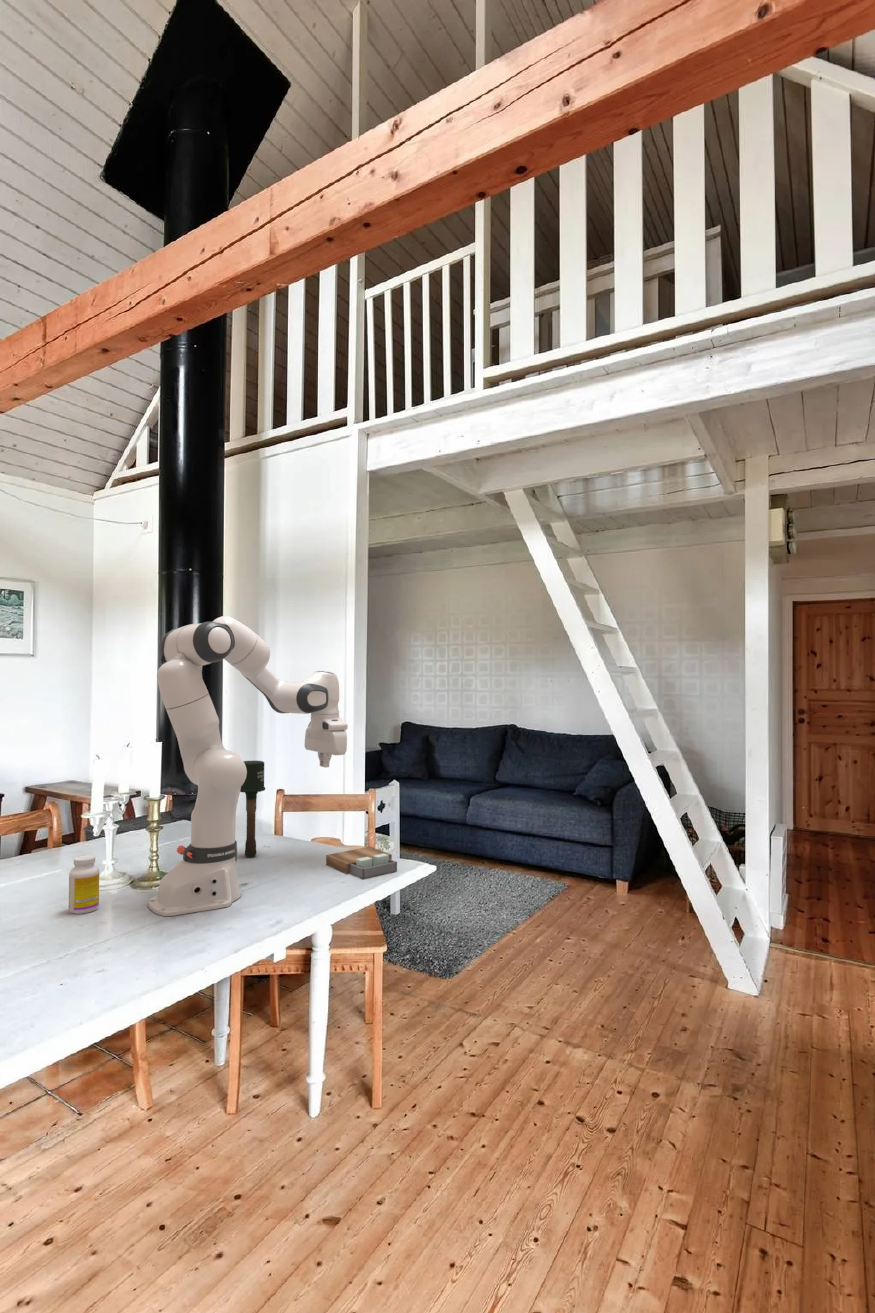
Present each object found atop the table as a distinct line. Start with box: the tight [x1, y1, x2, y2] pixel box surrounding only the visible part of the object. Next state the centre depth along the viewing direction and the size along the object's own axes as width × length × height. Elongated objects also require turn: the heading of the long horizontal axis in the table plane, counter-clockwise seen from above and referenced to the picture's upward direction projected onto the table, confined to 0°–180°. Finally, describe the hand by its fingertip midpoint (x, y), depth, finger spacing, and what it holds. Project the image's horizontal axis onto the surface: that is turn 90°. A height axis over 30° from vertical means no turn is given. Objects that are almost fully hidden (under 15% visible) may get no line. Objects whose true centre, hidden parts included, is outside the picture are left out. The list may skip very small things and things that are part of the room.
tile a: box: [356, 857, 372, 869], centre depth 195 cm, size 4×4×2 cm
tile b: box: [373, 853, 389, 867], centre depth 199 cm, size 4×4×2 cm
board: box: [325, 845, 393, 875], centre depth 204 cm, size 16×12×3 cm
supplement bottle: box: [68, 854, 100, 915], centre depth 164 cm, size 7×7×13 cm
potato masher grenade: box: [240, 760, 266, 859], centre depth 212 cm, size 8×9×30 cm
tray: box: [349, 859, 398, 880], centre depth 196 cm, size 12×7×3 cm, turn 130°
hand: (324, 767), depth 209 cm, fingers closed
